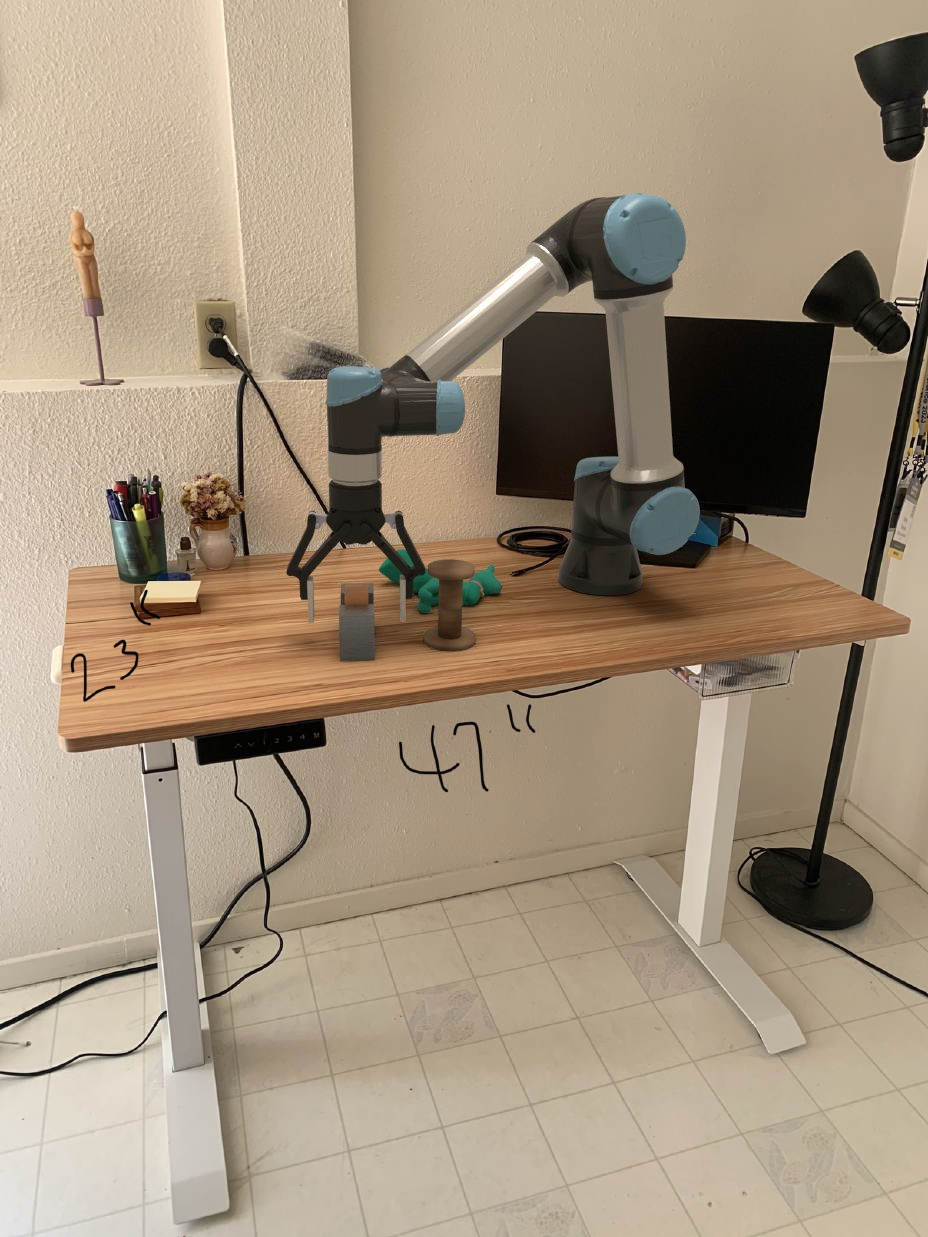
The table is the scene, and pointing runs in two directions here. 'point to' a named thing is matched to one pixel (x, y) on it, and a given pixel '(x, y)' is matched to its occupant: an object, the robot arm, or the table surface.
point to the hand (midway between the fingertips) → (357, 619)
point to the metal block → (357, 628)
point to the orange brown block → (356, 594)
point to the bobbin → (450, 606)
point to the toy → (429, 585)
